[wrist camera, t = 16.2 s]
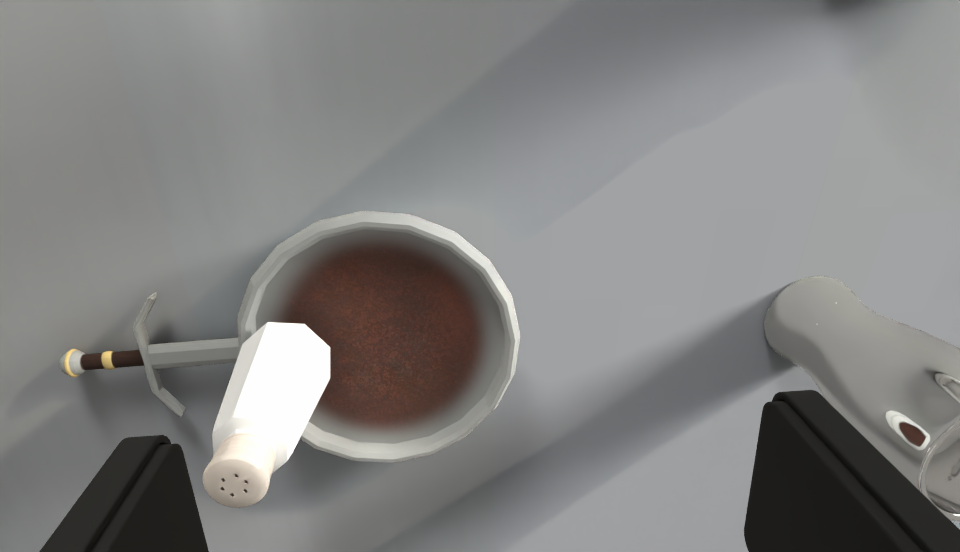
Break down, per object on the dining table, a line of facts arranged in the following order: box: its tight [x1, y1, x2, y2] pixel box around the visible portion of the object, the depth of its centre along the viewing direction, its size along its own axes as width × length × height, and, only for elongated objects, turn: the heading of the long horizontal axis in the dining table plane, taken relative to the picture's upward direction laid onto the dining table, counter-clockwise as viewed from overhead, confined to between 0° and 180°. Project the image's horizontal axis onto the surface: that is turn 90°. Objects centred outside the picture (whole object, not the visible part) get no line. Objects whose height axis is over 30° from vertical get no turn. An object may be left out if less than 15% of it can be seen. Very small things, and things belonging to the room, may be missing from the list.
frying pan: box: [59, 211, 520, 463], centre depth 39 cm, size 17×3×28 cm
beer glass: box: [764, 276, 960, 521], centre depth 35 cm, size 7×7×15 cm
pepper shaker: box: [203, 322, 330, 507], centre depth 33 cm, size 5×5×11 cm
